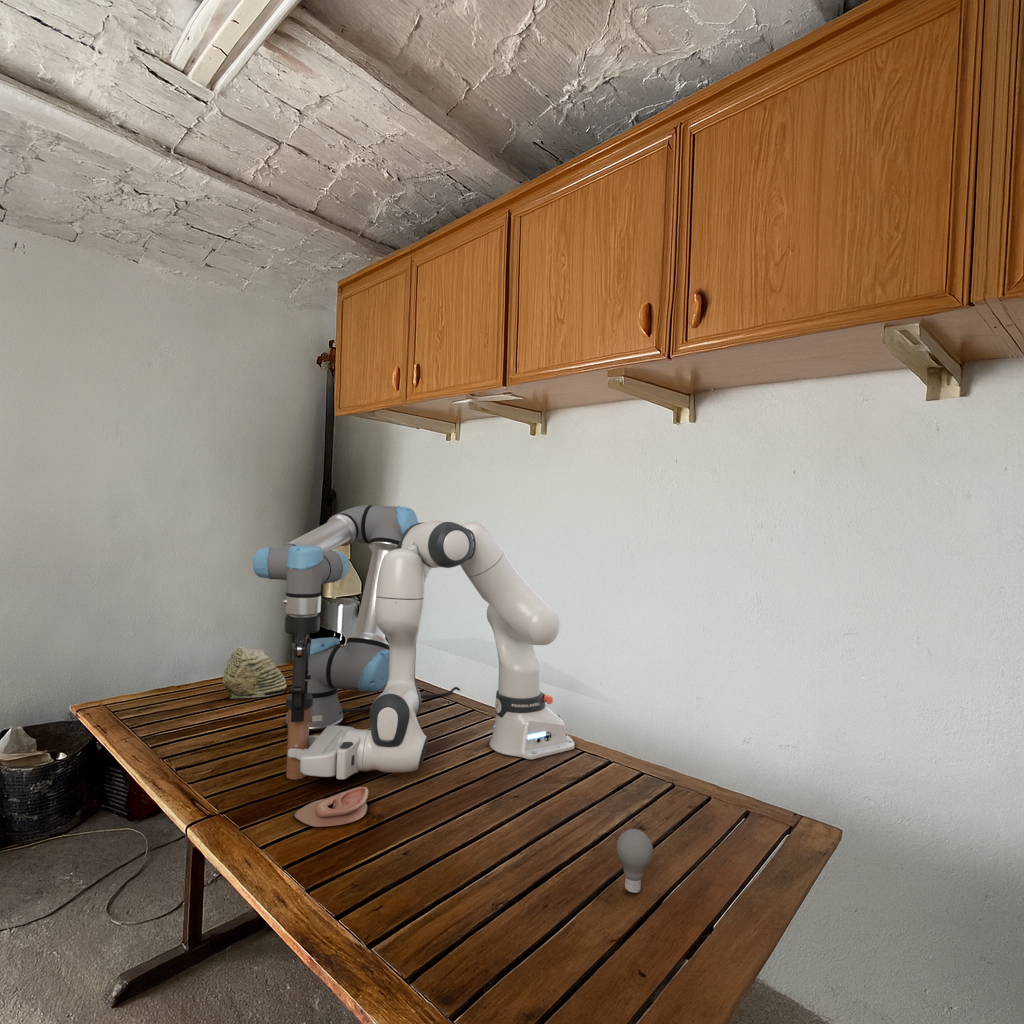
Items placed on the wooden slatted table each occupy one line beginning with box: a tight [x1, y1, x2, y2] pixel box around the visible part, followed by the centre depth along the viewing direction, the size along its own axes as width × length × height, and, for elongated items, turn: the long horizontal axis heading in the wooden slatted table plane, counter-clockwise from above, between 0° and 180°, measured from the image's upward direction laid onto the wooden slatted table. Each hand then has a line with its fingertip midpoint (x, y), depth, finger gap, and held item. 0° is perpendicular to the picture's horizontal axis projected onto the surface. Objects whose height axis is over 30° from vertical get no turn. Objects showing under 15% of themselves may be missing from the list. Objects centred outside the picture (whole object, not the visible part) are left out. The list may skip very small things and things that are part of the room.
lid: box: [285, 693, 313, 710], centre depth 143 cm, size 6×6×2 cm
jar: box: [285, 708, 310, 780], centre depth 143 cm, size 5×5×17 cm
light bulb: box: [615, 828, 654, 894], centre depth 106 cm, size 6×6×10 cm
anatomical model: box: [294, 786, 369, 828], centre depth 127 cm, size 13×4×12 cm
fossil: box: [222, 646, 288, 699], centre depth 198 cm, size 9×18×15 cm, turn 132°
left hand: (299, 714), depth 143 cm, fingers open, 7 cm apart
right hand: (293, 746), depth 143 cm, fingers closed on jar, 5 cm apart
